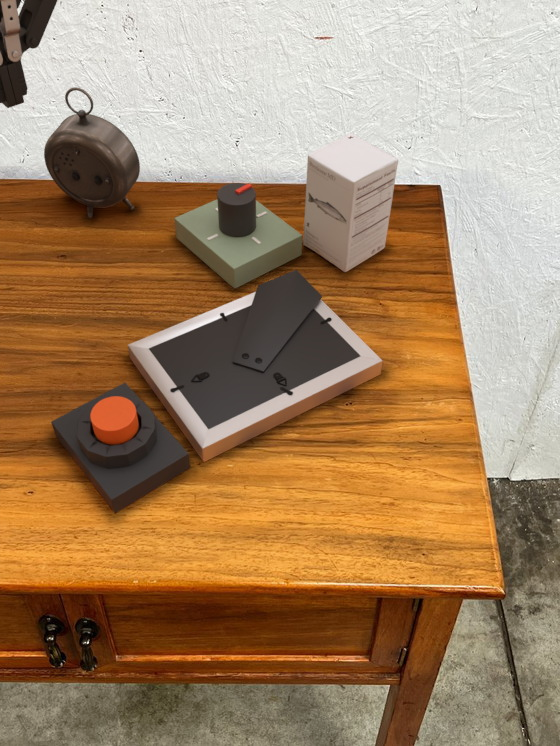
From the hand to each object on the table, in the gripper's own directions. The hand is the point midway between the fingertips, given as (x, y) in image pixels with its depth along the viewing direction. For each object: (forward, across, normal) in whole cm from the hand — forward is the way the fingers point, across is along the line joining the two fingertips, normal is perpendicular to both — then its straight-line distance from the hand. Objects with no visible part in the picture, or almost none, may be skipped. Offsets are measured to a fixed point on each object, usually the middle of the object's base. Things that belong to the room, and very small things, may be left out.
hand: (11, 101), depth 67 cm
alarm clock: (+25, +13, +15) cm, 32 cm away
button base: (+25, -5, -20) cm, 32 cm away
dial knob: (+22, +22, -2) cm, 31 cm away
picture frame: (+25, +11, -19) cm, 34 cm away
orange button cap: (+21, -5, -20) cm, 30 cm away
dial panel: (+25, +22, -2) cm, 33 cm away
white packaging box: (+25, +32, -10) cm, 42 cm away
